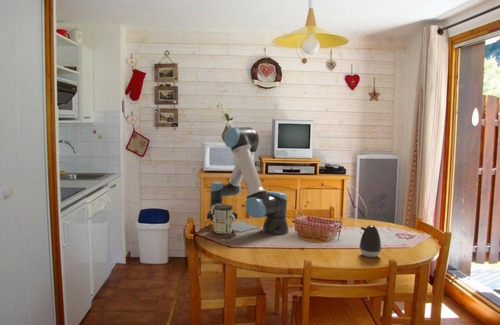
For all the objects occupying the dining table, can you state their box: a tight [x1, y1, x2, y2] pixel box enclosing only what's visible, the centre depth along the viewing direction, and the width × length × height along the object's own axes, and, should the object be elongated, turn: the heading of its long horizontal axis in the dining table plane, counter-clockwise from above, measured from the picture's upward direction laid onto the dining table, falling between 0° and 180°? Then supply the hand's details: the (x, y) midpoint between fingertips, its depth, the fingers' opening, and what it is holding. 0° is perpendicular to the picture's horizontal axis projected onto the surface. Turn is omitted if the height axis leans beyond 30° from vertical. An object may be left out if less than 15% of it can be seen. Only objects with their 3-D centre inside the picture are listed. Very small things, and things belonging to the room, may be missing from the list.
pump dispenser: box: [359, 224, 382, 258], centre depth 194 cm, size 10×10×15 cm
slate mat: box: [232, 221, 260, 233], centre depth 238 cm, size 16×16×1 cm
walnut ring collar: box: [209, 228, 237, 239], centre depth 222 cm, size 14×14×2 cm
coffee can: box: [213, 204, 234, 235], centre depth 222 cm, size 10×10×14 cm
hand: (224, 219), depth 218 cm, fingers closed on coffee can, 10 cm apart
